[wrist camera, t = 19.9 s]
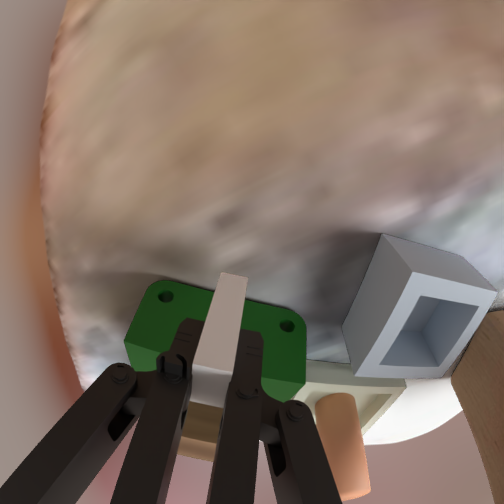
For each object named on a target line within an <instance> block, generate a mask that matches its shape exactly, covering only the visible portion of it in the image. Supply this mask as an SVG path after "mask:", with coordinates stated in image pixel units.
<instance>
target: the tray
mask: <svg viewBox="0 0 504 504" xmlns="http://www.w3.org/2000/svg"><path fill="white" fill-rule="evenodd" d="M406 388H407V386H406V383H405V381H404V378H375V377H357V376H354V374H353V370H352V366H351V364H342V363H333V362H324V361H315V360H307V359H306V384H305V385H304V386H303V387H302V388H301V389H300V390H299V391H298V392H297V393H296V394H295V395H294V396H293V397H292V398H291V399H290V400H299V401H301V402H304V403H305V404H306V405H307V406H308V407H309V408H310V410H311V412H312V415H313V418H314V421H315V424H316V417H315V404H316V402H317V401H318V400H319V399H321V398H322V397H324V396H327V395H330V394H334V393H348V394H351V395H353V396H354V398H355V402H356V407H357V412H358V417H359V422H360V427H361V432H362V436H363V435H364V434H365V433H366V432H367V431H368V430H369V429H370V428H371V427H372V426H373V425H374V423H375V422H376V421H377V420H378V419H379V418H380V417H381V416H382V415H383V414H384V413H385V412H386V411H387V410H388V408H389V407H390V406H391V405H392V404H393V403H394V402H395V401H396V399H397V398H398V397H399V396H400V395H401V394H402V392H403V391H404V390H405V389H406Z"/></svg>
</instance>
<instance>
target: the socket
mask: <svg viewBox="0 0 504 504" xmlns="http://www.w3.org/2000/svg"><path fill="white" fill-rule="evenodd" d="M497 294H498V291H497V290H496V289H495V288H494V287H493V286H492V285H491V284H490V283H489V282H488V281H487V280H486V279H485V278H484V277H483V276H482V275H481V274H480V273H479V272H478V271H477V270H476V269H475V268H474V267H473V266H472V265H471V264H470V263H469V262H468V261H467V260H466V259H465V258H464V257H461V256H458V255H455V254H452V253H448V252H445V251H442V250H439V249H435V248H432V247H429V246H425V245H422V244H418V243H415V242H411V241H408V240H404V239H401V238H397V237H394V236H390V235H386V234H383V233H382V234H381V237H380V240H379V242H378V245H377V247H376V250H375V253H374V255H373V258H372V260H371V262H370V265H369V267H368V270H367V272H366V275H365V277H364V279H363V282H362V284H361V286H360V288H359V291H358V293H357V295H356V297H355V300H354V302H353V304H352V306H351V308H350V310H349V313H348V315H347V317H346V319H345V321H344V323H343V325H342V327H341V328H342V331H343V335H344V339H345V342H346V346H347V350H348V354H349V358H350V362H351V366H352V370H353V374H354V376H357V377H375V378H441V377H442V376H443V375H444V374H445V372H446V371H447V370H448V369H449V367H450V366H451V365H452V363H453V362H454V361H455V359H456V358H457V357H458V355H459V354H460V353H461V351H462V350H463V348H464V347H465V346H466V344H467V343H468V341H469V340H470V338H471V337H472V335H473V334H474V332H475V331H476V329H477V328H478V326H479V325H480V323H481V321H482V320H483V318H484V316H485V315H486V313H487V311H488V310H489V308H490V306H491V305H492V303H493V301H494V299H495V298H496V296H497Z"/></svg>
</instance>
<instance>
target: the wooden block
mask: <svg viewBox="0 0 504 504" xmlns="http://www.w3.org/2000/svg"><path fill="white" fill-rule="evenodd" d="M451 384H452V386H453V389H454V391H455V393H456V395H457V397H458V400H459V402H460V404H461V406H462V409H463V411H464V413H465V416H466V418H467V421H468V423H469V426H470V428H471V431H472V433H473V436H474V438H475V441H476V444H477V446H478V449H479V452H480V455H481V458H482V461H483V463H484V467H485V470H486V474H487V477H488V480H489V484H490V487H491V491H492V495H493V498H494V502H495V504H504V310H500V311H494V312H489V313H487V314H486V315H485V316H484V318H483V320H482V321H481V323H480V325H479V326H478V328H477V330H476V332H475V334H474V336H473V338H472V340H471V342H470V344H469V346H468V348H467V350H466V352H465V353H464V355H463V357H462V359H461V361H460V362H459V364H458V366H457V368H456V369H455V371H454V373H453V374H452V377H451Z"/></svg>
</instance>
